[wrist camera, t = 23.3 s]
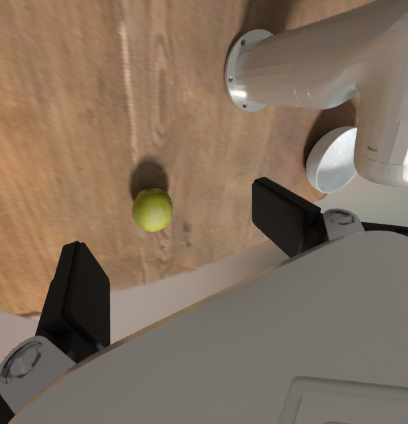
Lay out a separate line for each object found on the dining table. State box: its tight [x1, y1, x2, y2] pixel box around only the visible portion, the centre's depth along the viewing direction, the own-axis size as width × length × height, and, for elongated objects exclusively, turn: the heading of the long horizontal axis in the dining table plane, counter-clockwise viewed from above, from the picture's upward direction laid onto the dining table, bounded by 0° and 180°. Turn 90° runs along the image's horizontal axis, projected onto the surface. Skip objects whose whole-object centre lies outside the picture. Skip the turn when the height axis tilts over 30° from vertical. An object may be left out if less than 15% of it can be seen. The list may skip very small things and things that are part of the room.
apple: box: [132, 188, 173, 232], centre depth 39 cm, size 8×9×8 cm
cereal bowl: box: [306, 126, 357, 193], centre depth 53 cm, size 17×17×7 cm
